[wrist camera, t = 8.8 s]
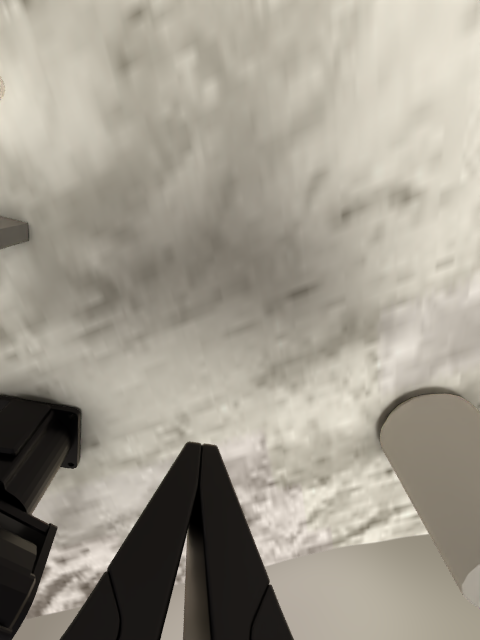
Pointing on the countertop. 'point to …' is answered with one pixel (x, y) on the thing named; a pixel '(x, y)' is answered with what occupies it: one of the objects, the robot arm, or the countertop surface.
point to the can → (441, 477)
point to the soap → (1, 88)
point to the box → (12, 232)
